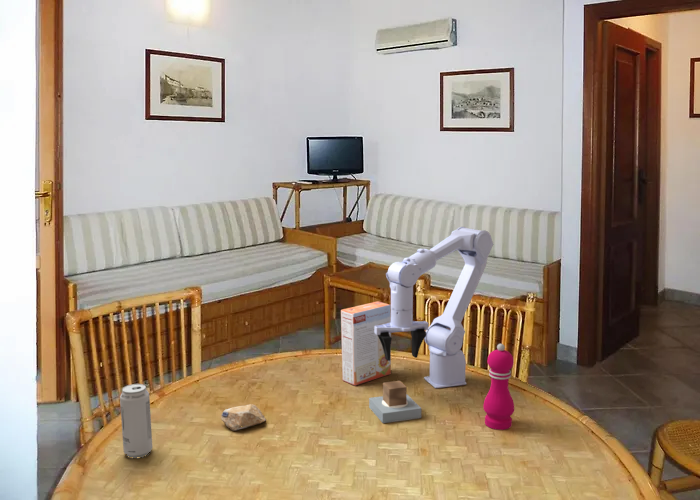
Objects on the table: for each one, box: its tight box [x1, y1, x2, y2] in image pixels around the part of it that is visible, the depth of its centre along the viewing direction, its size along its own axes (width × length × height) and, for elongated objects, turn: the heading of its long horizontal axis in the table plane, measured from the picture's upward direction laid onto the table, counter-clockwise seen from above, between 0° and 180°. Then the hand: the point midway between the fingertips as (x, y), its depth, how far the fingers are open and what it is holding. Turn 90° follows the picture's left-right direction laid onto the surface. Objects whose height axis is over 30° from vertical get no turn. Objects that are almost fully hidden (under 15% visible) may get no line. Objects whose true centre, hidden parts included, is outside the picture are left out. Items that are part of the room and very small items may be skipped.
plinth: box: [368, 394, 422, 424], centre depth 168 cm, size 10×10×3 cm
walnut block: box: [382, 380, 408, 407], centre depth 167 cm, size 4×4×4 cm
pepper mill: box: [482, 343, 515, 431], centre depth 159 cm, size 7×7×20 cm
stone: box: [220, 403, 267, 431], centre depth 162 cm, size 8×10×4 cm
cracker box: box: [340, 301, 392, 387], centre depth 190 cm, size 14×6×21 cm, turn 130°
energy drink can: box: [119, 383, 153, 459], centre depth 146 cm, size 6×6×15 cm
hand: (401, 358), depth 178 cm, fingers open, 7 cm apart
